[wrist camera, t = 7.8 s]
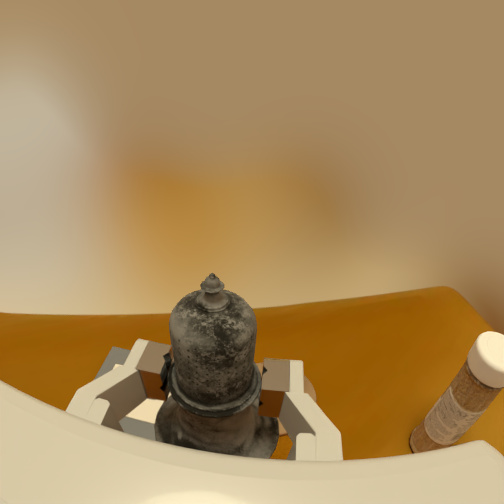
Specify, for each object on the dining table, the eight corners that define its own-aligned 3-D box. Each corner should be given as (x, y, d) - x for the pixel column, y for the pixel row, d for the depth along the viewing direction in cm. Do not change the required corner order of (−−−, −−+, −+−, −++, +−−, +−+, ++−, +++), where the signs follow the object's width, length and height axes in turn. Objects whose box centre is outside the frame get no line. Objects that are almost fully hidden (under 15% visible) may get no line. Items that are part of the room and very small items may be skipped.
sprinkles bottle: (438, 422, 24) (505, 326, 18) (450, 456, 20) (531, 365, 14) (403, 429, 24) (468, 330, 18) (413, 466, 20) (496, 374, 14)
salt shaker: (262, 410, 17) (288, 231, 12) (279, 494, 12) (349, 339, 7) (166, 413, 16) (132, 231, 11) (165, 500, 11) (83, 345, 6)
